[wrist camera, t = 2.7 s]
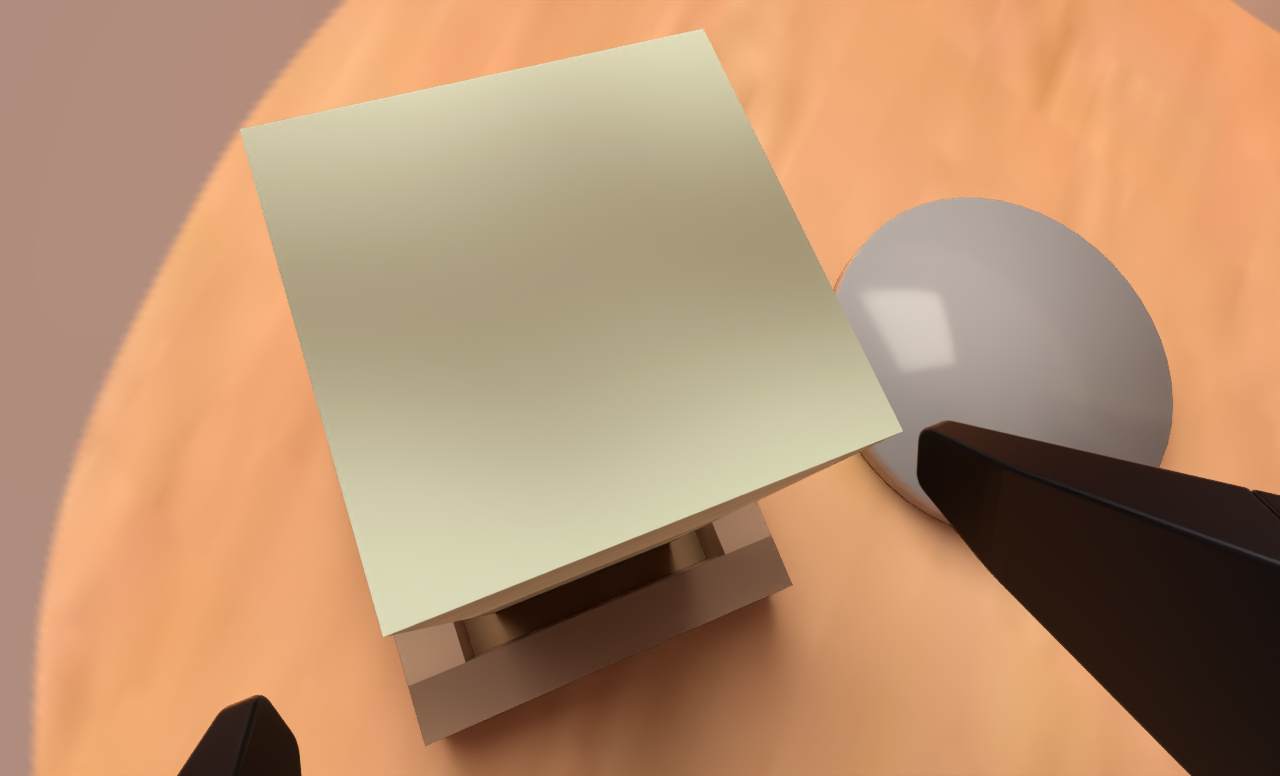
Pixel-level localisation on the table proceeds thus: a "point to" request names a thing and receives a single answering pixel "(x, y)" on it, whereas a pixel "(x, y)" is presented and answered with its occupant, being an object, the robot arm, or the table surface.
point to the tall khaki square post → (554, 321)
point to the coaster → (1003, 336)
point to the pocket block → (588, 631)
